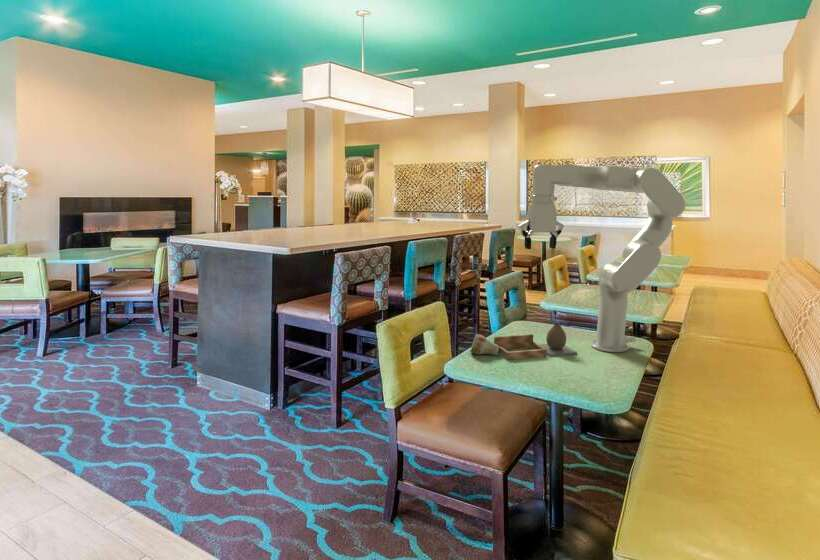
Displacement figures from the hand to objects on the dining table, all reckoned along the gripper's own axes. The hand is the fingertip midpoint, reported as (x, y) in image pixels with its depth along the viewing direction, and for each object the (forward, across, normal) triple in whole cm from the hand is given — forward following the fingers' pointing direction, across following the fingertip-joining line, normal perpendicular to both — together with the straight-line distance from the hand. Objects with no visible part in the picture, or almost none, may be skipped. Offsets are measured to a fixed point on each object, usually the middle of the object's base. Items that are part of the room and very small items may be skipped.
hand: (540, 248), depth 188 cm
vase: (+36, -5, +6) cm, 37 cm away
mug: (+37, +22, +4) cm, 43 cm away
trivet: (+36, -4, +6) cm, 37 cm away
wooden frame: (+36, +10, +6) cm, 38 cm away
